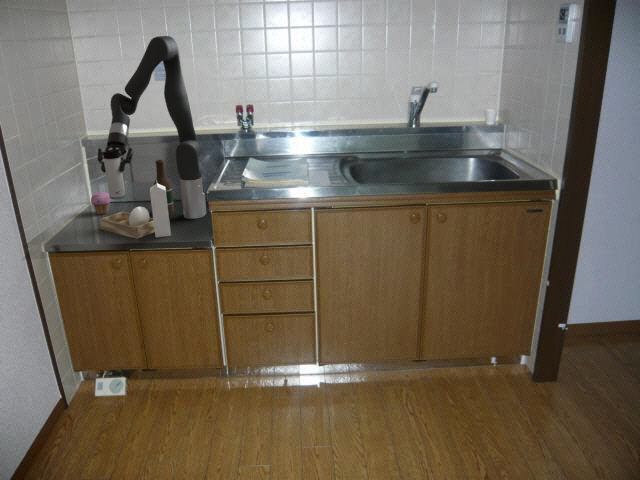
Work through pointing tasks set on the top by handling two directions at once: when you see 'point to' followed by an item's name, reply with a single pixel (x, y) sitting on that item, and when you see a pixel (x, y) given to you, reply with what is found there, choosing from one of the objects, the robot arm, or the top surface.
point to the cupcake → (101, 202)
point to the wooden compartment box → (126, 225)
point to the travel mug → (114, 174)
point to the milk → (160, 210)
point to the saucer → (138, 216)
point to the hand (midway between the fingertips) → (112, 171)
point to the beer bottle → (164, 184)
